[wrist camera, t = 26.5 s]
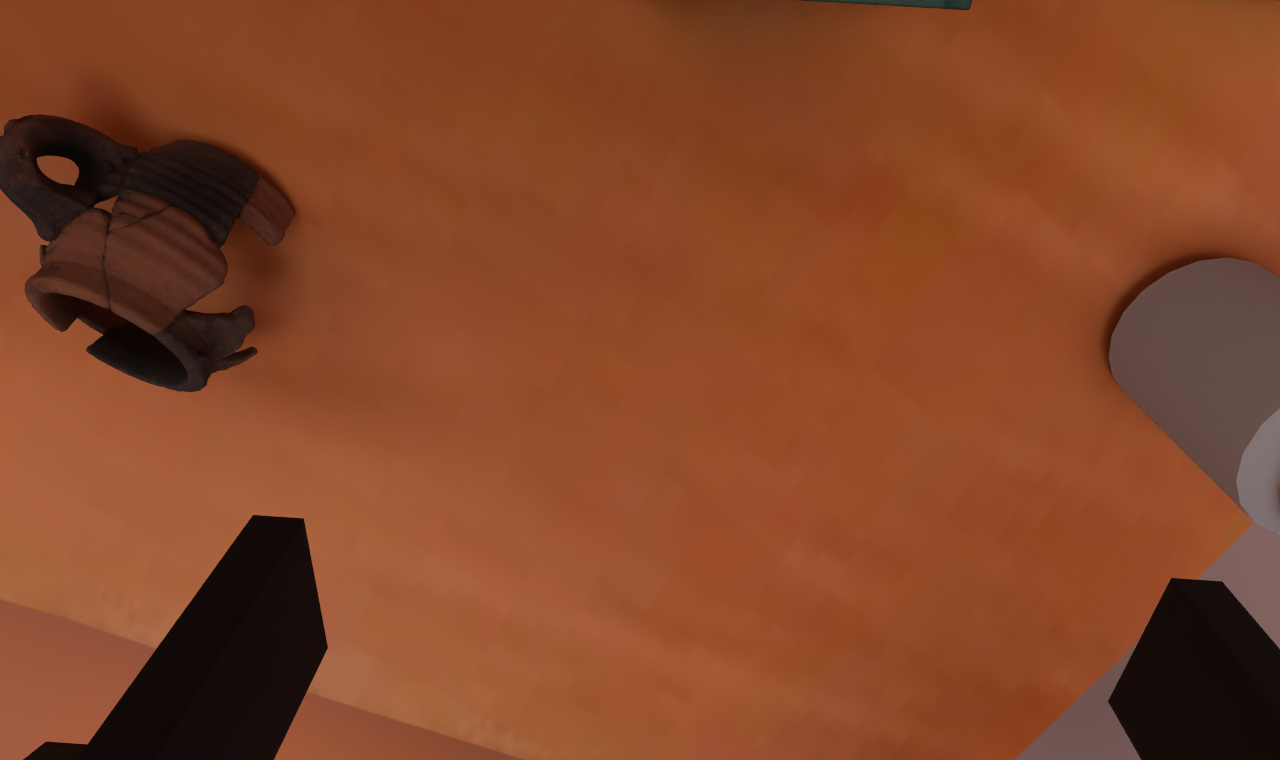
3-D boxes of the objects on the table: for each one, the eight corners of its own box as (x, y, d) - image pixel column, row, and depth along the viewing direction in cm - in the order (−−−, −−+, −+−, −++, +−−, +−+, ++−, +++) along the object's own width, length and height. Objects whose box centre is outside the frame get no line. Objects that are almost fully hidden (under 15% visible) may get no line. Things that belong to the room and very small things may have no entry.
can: (1246, 217, 34) (1504, 342, 23) (1294, 346, 37) (1544, 509, 26) (1074, 309, 36) (1239, 460, 26) (1132, 424, 39) (1301, 603, 29)
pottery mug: (360, 250, 36) (263, 395, 32) (256, 286, 42) (160, 414, 38) (117, 23, 29) (-51, 171, 25) (30, 103, 35) (-120, 235, 30)
